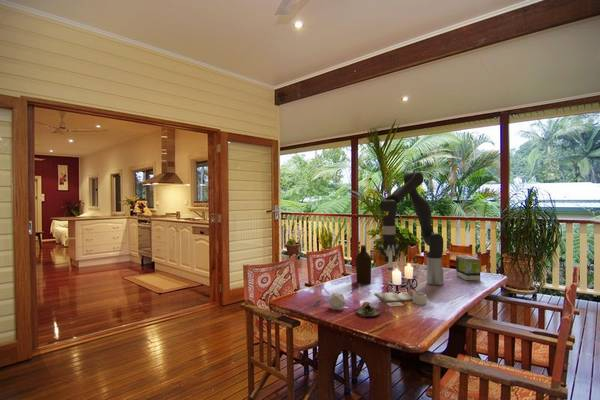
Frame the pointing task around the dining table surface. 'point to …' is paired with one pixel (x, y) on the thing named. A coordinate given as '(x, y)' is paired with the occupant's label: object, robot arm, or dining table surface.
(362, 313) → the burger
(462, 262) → the tea box
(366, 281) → the olive oil
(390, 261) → the marker
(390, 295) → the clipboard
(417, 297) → the pen cup
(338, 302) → the white faceted polyhedron
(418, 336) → the dining table surface
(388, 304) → the word card
